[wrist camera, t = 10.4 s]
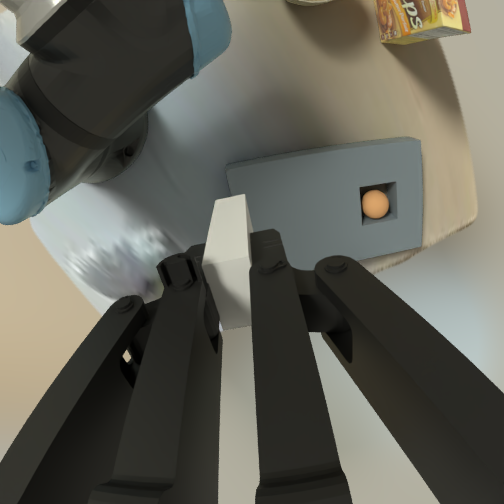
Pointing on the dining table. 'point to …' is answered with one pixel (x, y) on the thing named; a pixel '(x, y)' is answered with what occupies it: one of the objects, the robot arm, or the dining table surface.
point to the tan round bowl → (309, 2)
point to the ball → (374, 204)
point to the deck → (335, 198)
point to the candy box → (420, 20)
